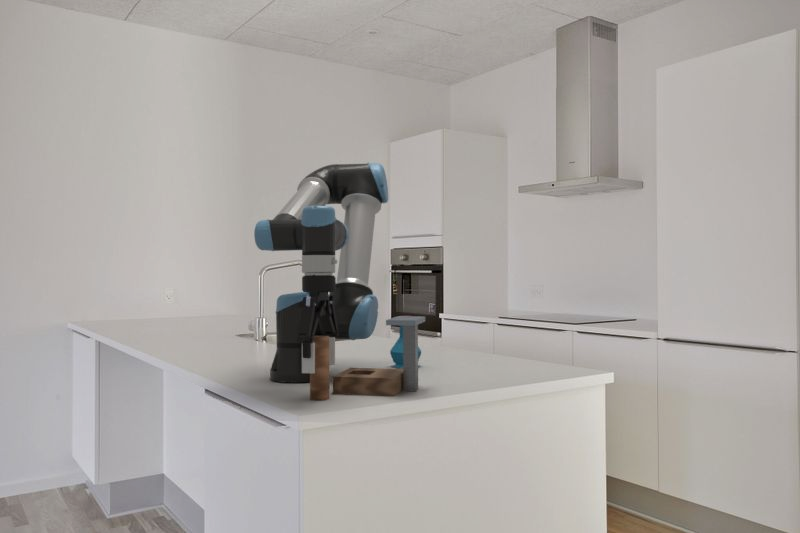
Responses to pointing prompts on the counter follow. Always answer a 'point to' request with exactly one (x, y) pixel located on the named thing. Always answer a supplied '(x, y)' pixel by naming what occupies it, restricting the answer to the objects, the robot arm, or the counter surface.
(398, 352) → the perfume bottle
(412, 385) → the grey t-shaped block
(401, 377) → the socket board
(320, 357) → the peg
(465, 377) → the counter surface
